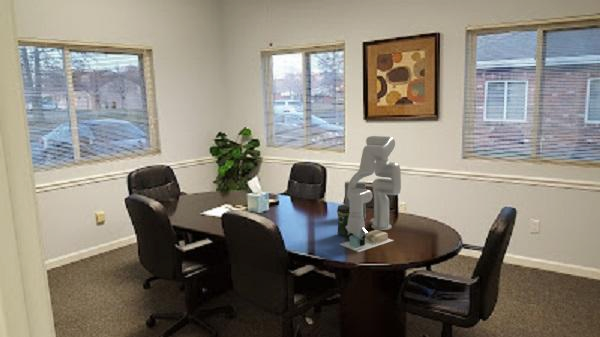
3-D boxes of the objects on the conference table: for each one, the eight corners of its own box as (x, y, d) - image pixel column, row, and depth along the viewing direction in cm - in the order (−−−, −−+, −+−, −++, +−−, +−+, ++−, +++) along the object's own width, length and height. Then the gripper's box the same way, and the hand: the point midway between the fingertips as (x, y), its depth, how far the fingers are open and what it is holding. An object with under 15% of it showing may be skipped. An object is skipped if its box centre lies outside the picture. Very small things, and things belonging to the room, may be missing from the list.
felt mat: (339, 244, 259) (339, 244, 259) (373, 234, 275) (373, 233, 275) (358, 252, 246) (358, 251, 246) (393, 241, 262) (393, 240, 262)
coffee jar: (355, 235, 273) (355, 206, 270) (346, 238, 269) (345, 208, 265) (345, 231, 281) (344, 202, 278) (335, 234, 276) (334, 205, 273)
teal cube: (349, 245, 256) (349, 236, 255) (356, 243, 260) (356, 233, 259) (356, 247, 252) (356, 238, 251) (363, 245, 255) (363, 236, 254)
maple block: (365, 239, 265) (365, 232, 265) (376, 236, 271) (376, 229, 270) (376, 243, 258) (376, 236, 257) (387, 239, 263) (387, 233, 263)
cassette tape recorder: (365, 217, 311) (365, 181, 306) (365, 219, 305) (365, 183, 300) (345, 216, 313) (345, 181, 309) (344, 219, 307) (344, 183, 303)
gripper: (340, 211, 257) (341, 240, 260) (362, 218, 243) (362, 249, 246) (350, 209, 261) (350, 238, 265) (372, 215, 248) (372, 245, 251)
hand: (356, 243), depth 256 cm, fingers open, 8 cm apart
